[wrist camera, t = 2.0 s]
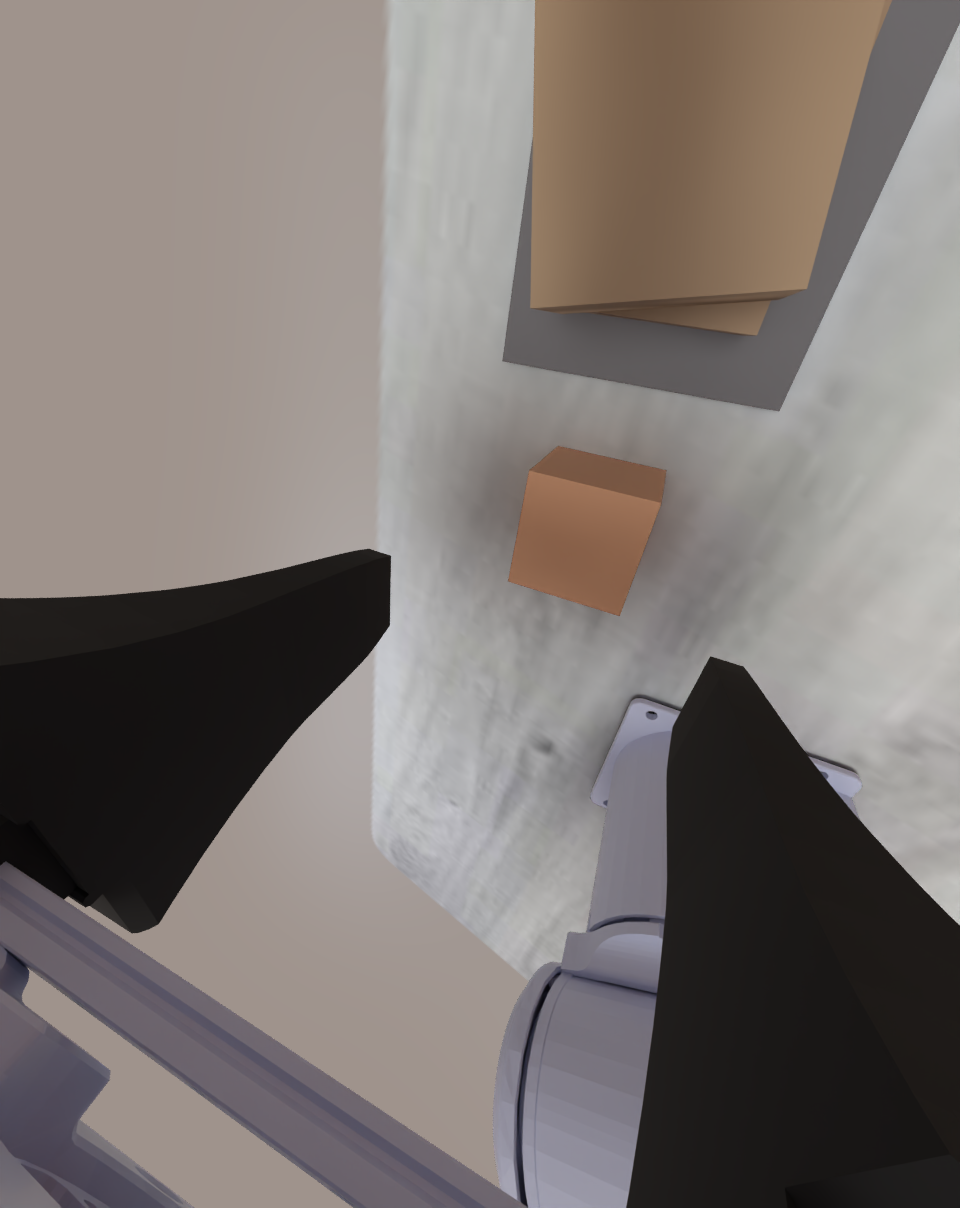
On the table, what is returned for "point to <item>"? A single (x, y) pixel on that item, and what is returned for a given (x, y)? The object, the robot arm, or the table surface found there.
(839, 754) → the table surface
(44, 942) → the robot arm
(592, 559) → the cube
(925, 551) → the table surface
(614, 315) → the slab bottom
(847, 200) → the mat
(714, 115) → the slab top
